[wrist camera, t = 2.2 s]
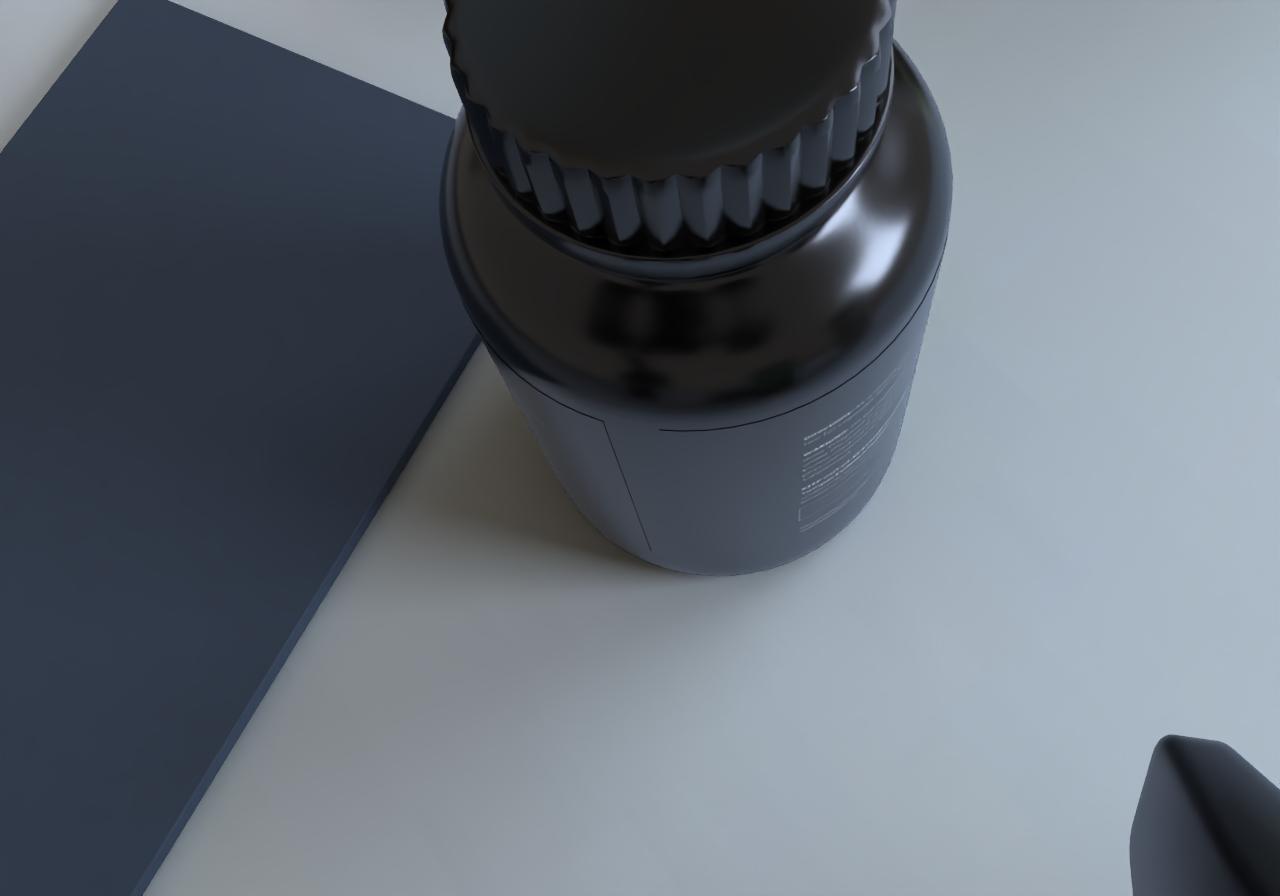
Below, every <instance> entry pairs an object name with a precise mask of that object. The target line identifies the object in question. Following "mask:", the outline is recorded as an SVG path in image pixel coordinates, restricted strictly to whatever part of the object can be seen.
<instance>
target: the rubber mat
mask: <svg viewBox="0 0 1280 896" xmlns="http://www.w3.org/2000/svg"><path fill="white" fill-rule="evenodd" d="M455 122H456V119H453V118H451V117H449V116H446V115H444V114H441V113H439V112H437V111H434V110H432V109H429V108H427V107H424V106H422V105H420V104H417V103H415V102H412V101H410V100H408V99H405V98H403V97H400V96H398V95H395V94H393V93H391V92H388V91H386V90H383V89H381V88H379V87H376V86H374V85H371V84H369V83H366V82H364V81H362V80H359V79H357V78H354V77H352V76H350V75H347V74H345V73H342V72H340V71H337V70H335V69H333V68H330V67H328V66H325V65H323V64H321V63H318V62H316V61H313V60H311V59H308V58H306V57H304V56H301V55H299V54H296V53H294V52H292V51H289V50H287V49H284V48H282V47H279V46H277V45H275V44H272V43H270V42H267V41H265V40H263V39H260V38H258V37H255V36H253V35H250V34H248V33H246V32H243V31H241V30H238V29H236V28H234V27H231V26H229V25H226V24H224V23H222V22H219V21H217V20H214V19H212V18H209V17H207V16H205V15H202V14H200V13H197V12H195V11H193V10H190V9H188V8H185V7H183V6H180V5H178V4H176V3H173V2H171V1H168V0H119V1H118V2H117V3H116V4H115V6H114V7H113V8H112V10H111V11H110V12H109V13H108V15H107V16H106V17H105V19H104V20H103V21H102V22H101V24H100V25H99V26H98V28H97V29H96V30H95V32H94V33H93V34H92V35H91V37H90V38H89V39H88V41H87V42H86V43H85V44H84V46H83V47H82V48H81V50H80V51H79V52H78V54H77V55H76V56H75V57H74V59H73V60H72V61H71V63H70V64H69V65H68V66H67V68H66V69H65V70H64V72H63V73H62V74H61V75H60V77H59V78H58V79H57V81H56V82H55V83H54V85H53V86H52V87H51V88H50V90H49V91H48V92H47V94H46V95H45V96H44V97H43V99H42V100H41V101H40V103H39V104H38V105H37V106H36V108H35V109H34V110H33V112H32V113H31V114H30V116H29V117H28V118H27V119H26V121H25V122H24V123H23V125H22V126H21V127H20V128H19V130H18V131H17V132H16V134H15V135H14V136H13V138H12V139H11V140H10V141H9V143H8V144H7V145H6V147H5V148H4V149H3V150H2V152H1V153H0V896H142V895H143V893H144V892H145V890H146V888H147V887H148V885H149V884H150V882H151V880H152V879H153V877H154V875H155V874H156V872H157V870H158V869H159V867H160V866H161V864H162V862H163V861H164V859H165V857H166V856H167V854H168V852H169V851H170V849H171V848H172V846H173V844H174V843H175V841H176V839H177V838H178V836H179V834H180V833H181V831H182V830H183V828H184V826H185V825H186V823H187V821H188V820H189V818H190V816H191V815H192V813H193V812H194V810H195V808H196V807H197V805H198V803H199V802H200V800H201V798H202V797H203V795H204V794H205V792H206V790H207V789H208V787H209V785H210V784H211V782H212V780H213V779H214V777H215V776H216V774H217V772H218V771H219V769H220V767H221V766H222V764H223V762H224V761H225V759H226V758H227V756H228V754H229V753H230V751H231V749H232V748H233V746H234V744H235V743H236V741H237V740H238V738H239V736H240V735H241V733H242V731H243V730H244V728H245V726H246V725H247V723H248V721H249V720H250V718H251V717H252V715H253V713H254V712H255V710H256V708H257V707H258V705H259V703H260V702H261V700H262V699H263V697H264V695H265V694H266V692H267V690H268V689H269V687H270V685H271V684H272V682H273V681H274V679H275V677H276V676H277V674H278V672H279V671H280V669H281V667H282V666H283V664H284V663H285V661H286V659H287V658H288V656H289V654H290V653H291V651H292V649H293V648H294V646H295V645H296V643H297V641H298V640H299V638H300V636H301V635H302V633H303V631H304V630H305V628H306V627H307V625H308V623H309V622H310V620H311V618H312V617H313V615H314V613H315V612H316V610H317V609H318V607H319V605H320V604H321V602H322V600H323V599H324V597H325V595H326V594H327V592H328V591H329V589H330V587H331V586H332V584H333V582H334V581H335V579H336V577H337V576H338V574H339V573H340V571H341V569H342V568H343V566H344V564H345V563H346V561H347V559H348V558H349V556H350V555H351V553H352V551H353V550H354V548H355V546H356V545H357V543H358V541H359V540H360V538H361V537H362V535H363V533H364V532H365V530H366V528H367V527H368V525H369V523H370V522H371V520H372V519H373V517H374V515H375V514H376V512H377V510H378V509H379V507H380V505H381V504H382V502H383V501H384V499H385V497H386V496H387V494H388V492H389V491H390V489H391V487H392V486H393V484H394V483H395V481H396V479H397V478H398V476H399V474H400V473H401V471H402V469H403V468H404V466H405V465H406V463H407V461H408V460H409V458H410V456H411V455H412V453H413V451H414V450H415V448H416V447H417V445H418V443H419V442H420V440H421V438H422V437H423V435H424V433H425V432H426V430H427V429H428V427H429V425H430V424H431V422H432V420H433V419H434V417H435V415H436V414H437V412H438V411H439V409H440V407H441V406H442V404H443V402H444V401H445V399H446V397H447V396H448V394H449V393H450V391H451V389H452V388H453V386H454V384H455V383H456V381H457V379H458V378H459V376H460V375H461V373H462V371H463V370H464V368H465V366H466V365H467V363H468V361H469V360H470V358H471V357H472V355H473V353H474V352H475V350H476V348H477V347H478V345H479V343H480V342H481V340H482V339H481V337H480V335H479V333H478V332H477V330H476V328H475V326H474V324H473V322H472V320H471V318H470V317H469V315H468V313H467V311H466V309H465V307H464V305H463V302H462V300H461V298H460V295H459V293H458V290H457V288H456V285H455V283H454V280H453V278H452V275H451V273H450V270H449V267H448V263H447V260H446V256H445V252H444V248H443V243H442V236H441V229H440V215H439V192H440V178H441V173H442V168H443V162H444V157H445V152H446V149H447V145H448V142H449V139H450V135H451V132H452V129H453V127H454V124H455Z"/></svg>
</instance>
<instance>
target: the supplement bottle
mask: <svg viewBox="0 0 1280 896" xmlns="http://www.w3.org/2000/svg"><path fill="white" fill-rule="evenodd" d="M896 1H897V0H444V5H445V8H446V11H447V16H446V19H445V22H444V26H443V30H442V31H443V39H444V43H445V46H446V48H447V51H448V53H449V56H450V67H451V74H452V78H453V81H454V83H455V86H456V88H457V91H458V93H459V96H460V98H461V101H462V103H463V106H462V107H461V110H460V112H459V115H458V117H457V119H456V122H455V124H454V127H453V129H452V132H451V135H450V139H449V142H448V145H447V149H446V152H445V157H444V162H443V168H442V173H441V178H440V192H439V215H440V229H441V236H442V243H443V248H444V252H445V256H446V260H447V263H448V267H449V270H450V273H451V275H452V278H453V280H454V283H455V285H456V288H457V290H458V293H459V295H460V298H461V300H462V302H463V305H464V307H465V309H466V311H467V313H468V315H469V317H470V318H471V320H472V322H473V324H474V326H475V328H476V330H477V332H478V333H479V335H480V337H481V339H482V341H483V343H484V345H485V346H486V348H487V350H488V352H489V354H490V356H491V358H492V359H493V361H494V363H495V365H496V367H497V369H498V370H499V372H500V374H501V376H502V378H503V380H504V382H505V383H506V385H507V387H508V389H509V391H510V393H511V394H512V396H513V398H514V400H515V402H516V404H517V406H518V407H519V409H520V411H521V413H522V415H523V417H524V418H525V420H526V422H527V424H528V426H529V428H530V430H531V431H532V433H533V435H534V437H535V439H536V441H537V442H538V444H539V446H540V448H541V450H542V452H543V454H544V455H545V457H546V459H547V461H548V463H549V465H550V466H551V468H552V470H553V472H554V474H555V476H556V477H557V479H558V481H559V482H560V484H561V485H562V487H563V489H564V490H565V492H566V493H567V495H568V496H569V498H570V499H571V501H572V502H573V504H574V505H575V506H576V508H577V509H578V510H579V511H580V512H581V513H582V515H583V516H584V517H585V518H586V519H587V520H588V521H589V522H590V523H591V524H592V525H593V526H594V527H595V528H596V529H597V530H598V531H599V532H600V533H601V534H603V535H604V536H605V537H606V538H608V539H609V540H610V541H611V542H613V543H614V544H616V545H617V546H619V547H620V548H622V549H624V550H625V551H627V552H628V553H630V554H632V555H634V556H636V557H638V558H640V559H642V560H644V561H647V562H650V563H652V564H655V565H657V566H660V567H664V568H667V569H671V570H675V571H678V572H684V573H690V574H696V575H709V576H729V575H740V574H748V573H754V572H759V571H763V570H768V569H771V568H774V567H777V566H780V565H784V564H786V563H789V562H791V561H793V560H796V559H798V558H800V557H803V556H804V555H806V554H808V553H810V552H812V551H814V550H815V549H817V548H819V547H820V546H822V545H823V544H825V543H826V542H828V541H829V540H831V539H832V538H833V537H835V536H836V535H837V534H838V533H839V532H841V531H842V530H843V529H844V528H845V527H846V526H847V525H848V524H849V523H850V522H851V521H852V520H853V519H854V518H855V517H856V516H857V515H858V514H859V513H860V512H861V510H862V509H863V508H864V507H865V505H866V504H867V503H868V502H869V500H870V499H871V497H872V496H873V494H874V493H875V491H876V489H877V488H878V486H879V485H880V483H881V481H882V479H883V477H884V475H885V473H886V471H887V469H888V467H889V464H890V461H891V459H892V456H893V453H894V451H895V447H896V444H897V440H898V437H899V434H900V430H901V426H902V423H903V419H904V415H905V411H906V406H907V402H908V398H909V394H910V390H911V386H912V382H913V378H914V374H915V369H916V365H917V361H918V357H919V353H920V349H921V345H922V341H923V336H924V332H925V328H926V324H927V320H928V316H929V312H930V308H931V304H932V299H933V295H934V291H935V287H936V283H937V279H938V275H939V271H940V266H941V262H942V258H943V254H944V250H945V245H946V241H947V235H948V228H949V221H950V212H951V204H952V179H953V176H952V165H951V155H950V150H949V145H948V141H947V136H946V131H945V127H944V124H943V121H942V118H941V115H940V112H939V109H938V107H937V105H936V102H935V100H934V98H933V96H932V94H931V92H930V90H929V88H928V86H927V84H926V82H925V80H924V79H923V77H922V76H921V74H920V72H919V71H918V69H917V67H916V66H915V64H914V63H913V62H912V60H911V59H910V58H909V56H908V55H907V54H906V53H905V51H904V50H903V49H902V47H901V46H900V45H899V43H898V42H897V41H896V40H895V39H894V38H893V28H894V27H893V26H894V18H895V10H896Z"/></svg>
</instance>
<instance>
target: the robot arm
mask: <svg viewBox="0 0 1280 896" xmlns="http://www.w3.org/2000/svg"><path fill="white" fill-rule="evenodd" d="M1130 868H1131V878H1132V888H1133V896H1280V789H1278V788H1277V787H1276V786H1275V785H1274V784H1273V783H1272V782H1270V781H1269V780H1268V779H1267V778H1266V777H1265V776H1264V775H1262V774H1261V773H1260V772H1259V771H1258V770H1257V769H1256V768H1254V767H1253V766H1252V765H1251V764H1250V763H1249V762H1248V761H1246V760H1245V759H1244V758H1243V757H1242V756H1241V755H1240V754H1238V753H1237V752H1236V751H1235V750H1234V749H1232V748H1231V747H1230V746H1228V745H1227V744H1225V743H1223V742H1220V741H1214V740H1207V739H1200V738H1193V737H1186V736H1179V735H1167V736H1165V737H1163V738H1161V739H1160V740H1159V742H1158V743H1157V745H1156V747H1155V748H1154V751H1153V754H1152V757H1151V761H1150V764H1149V768H1148V771H1147V775H1146V778H1145V782H1144V785H1143V789H1142V792H1141V796H1140V799H1139V803H1138V806H1137V810H1136V813H1135V817H1134V820H1133V824H1132V829H1131V836H1130Z"/></svg>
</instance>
